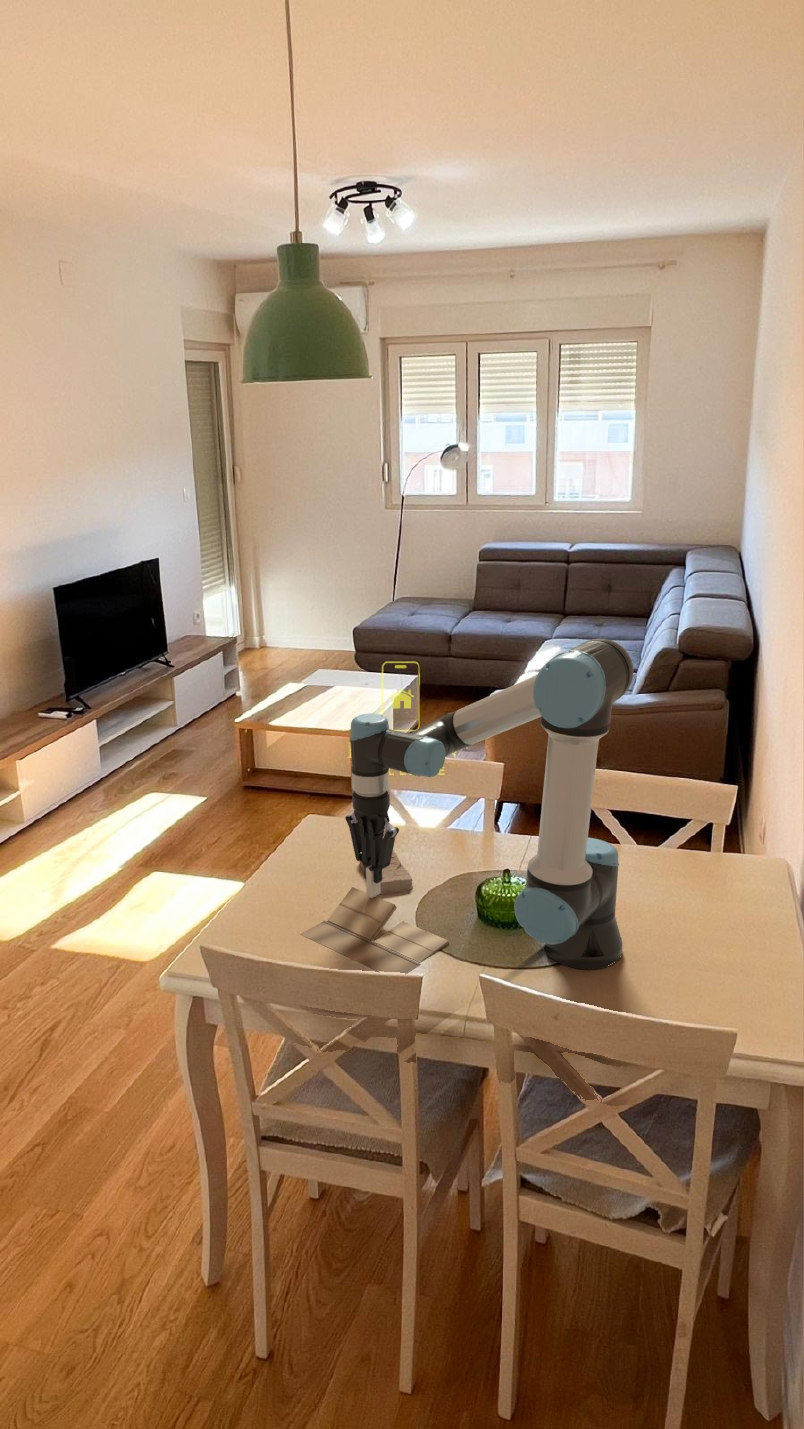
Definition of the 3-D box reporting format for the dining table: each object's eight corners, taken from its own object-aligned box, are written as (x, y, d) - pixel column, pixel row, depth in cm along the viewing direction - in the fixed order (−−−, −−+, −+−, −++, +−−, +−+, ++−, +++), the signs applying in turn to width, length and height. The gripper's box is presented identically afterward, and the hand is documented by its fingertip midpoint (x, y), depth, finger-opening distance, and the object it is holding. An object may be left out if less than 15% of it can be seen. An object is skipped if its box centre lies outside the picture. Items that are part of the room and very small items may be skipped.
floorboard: (420, 970, 191) (420, 963, 191) (396, 986, 186) (396, 979, 186) (324, 926, 207) (324, 920, 207) (300, 940, 202) (300, 933, 202)
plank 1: (396, 907, 204) (394, 904, 203) (371, 942, 200) (369, 939, 199) (354, 890, 212) (352, 886, 211) (329, 923, 207) (327, 919, 207)
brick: (414, 896, 220) (414, 876, 219) (378, 902, 218) (377, 882, 216) (392, 864, 235) (392, 846, 234) (358, 870, 233) (357, 851, 231)
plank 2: (448, 945, 198) (448, 940, 197) (420, 967, 192) (419, 962, 191) (403, 926, 205) (402, 920, 205) (374, 946, 199) (373, 941, 199)
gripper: (407, 792, 198) (409, 897, 206) (359, 776, 207) (363, 878, 214) (382, 804, 193) (384, 911, 201) (334, 787, 201) (338, 891, 209)
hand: (373, 894), depth 207 cm, fingers closed
